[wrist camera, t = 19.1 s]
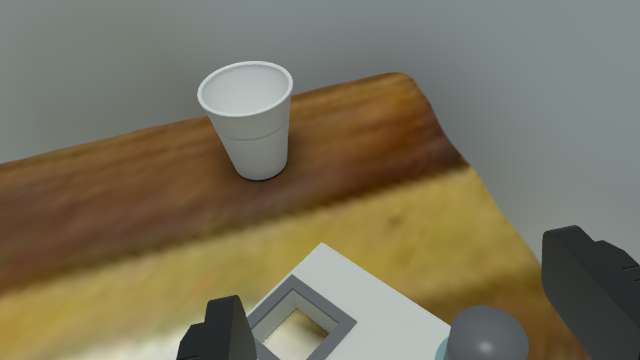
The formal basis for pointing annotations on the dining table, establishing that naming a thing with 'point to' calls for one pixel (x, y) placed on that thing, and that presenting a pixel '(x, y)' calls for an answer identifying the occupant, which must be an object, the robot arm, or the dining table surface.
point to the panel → (348, 313)
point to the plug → (484, 336)
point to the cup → (250, 115)
